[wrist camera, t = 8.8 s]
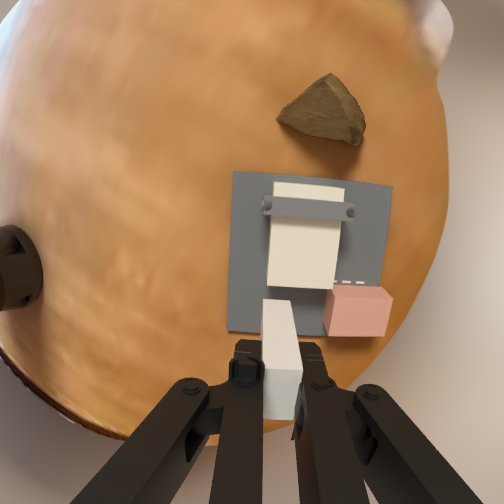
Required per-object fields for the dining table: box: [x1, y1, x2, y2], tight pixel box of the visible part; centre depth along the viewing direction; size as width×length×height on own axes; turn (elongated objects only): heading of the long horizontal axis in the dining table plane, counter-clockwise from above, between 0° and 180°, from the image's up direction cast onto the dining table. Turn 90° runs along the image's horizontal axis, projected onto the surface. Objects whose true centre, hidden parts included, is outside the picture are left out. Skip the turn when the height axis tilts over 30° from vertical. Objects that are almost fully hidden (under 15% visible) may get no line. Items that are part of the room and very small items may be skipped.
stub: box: [323, 285, 393, 336], centre depth 39 cm, size 8×6×4 cm
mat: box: [227, 171, 393, 336], centre depth 41 cm, size 21×22×1 cm
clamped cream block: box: [261, 182, 356, 289], centre depth 37 cm, size 11×12×6 cm
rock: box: [276, 73, 366, 146], centre depth 34 cm, size 11×9×10 cm
